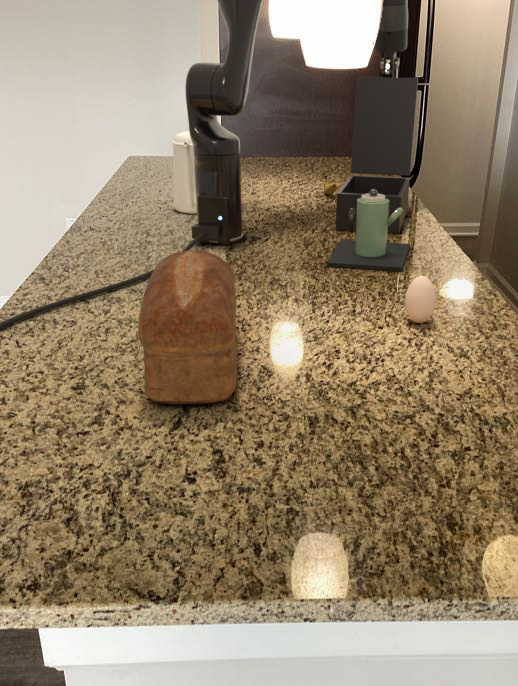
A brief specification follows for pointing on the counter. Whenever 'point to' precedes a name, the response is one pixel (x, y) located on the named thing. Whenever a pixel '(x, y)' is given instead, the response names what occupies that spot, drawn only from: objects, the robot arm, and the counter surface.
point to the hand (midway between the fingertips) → (388, 108)
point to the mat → (388, 262)
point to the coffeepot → (184, 174)
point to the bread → (189, 329)
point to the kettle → (372, 224)
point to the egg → (420, 299)
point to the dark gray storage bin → (359, 185)
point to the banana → (329, 187)
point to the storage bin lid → (383, 125)
